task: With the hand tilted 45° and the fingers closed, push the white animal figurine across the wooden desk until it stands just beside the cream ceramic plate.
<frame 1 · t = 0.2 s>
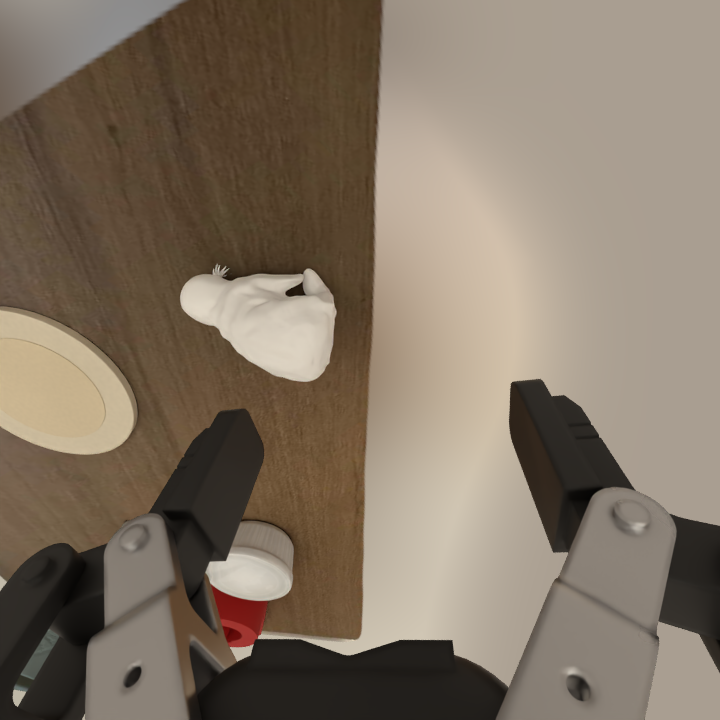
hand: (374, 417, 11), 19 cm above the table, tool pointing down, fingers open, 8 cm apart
drinking glass: (71, 592, 64), on the table
plate: (47, 387, 37), on the table
ramekin: (260, 537, 50), on the table
white animal figurine: (271, 294, 30), on the table
lever: (246, 595, 60), on the table
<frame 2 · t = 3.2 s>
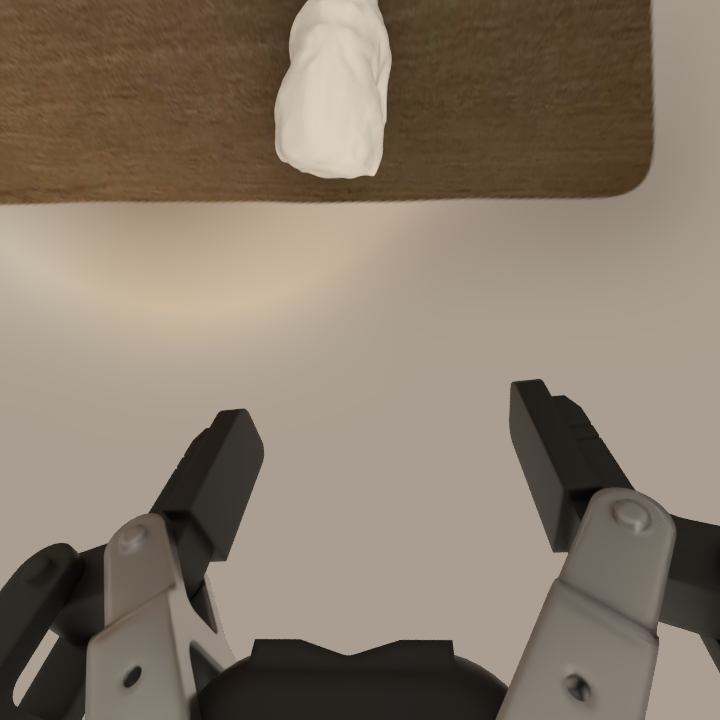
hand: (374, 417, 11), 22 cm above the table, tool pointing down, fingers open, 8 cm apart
white animal figurine: (346, 64, 24), on the table
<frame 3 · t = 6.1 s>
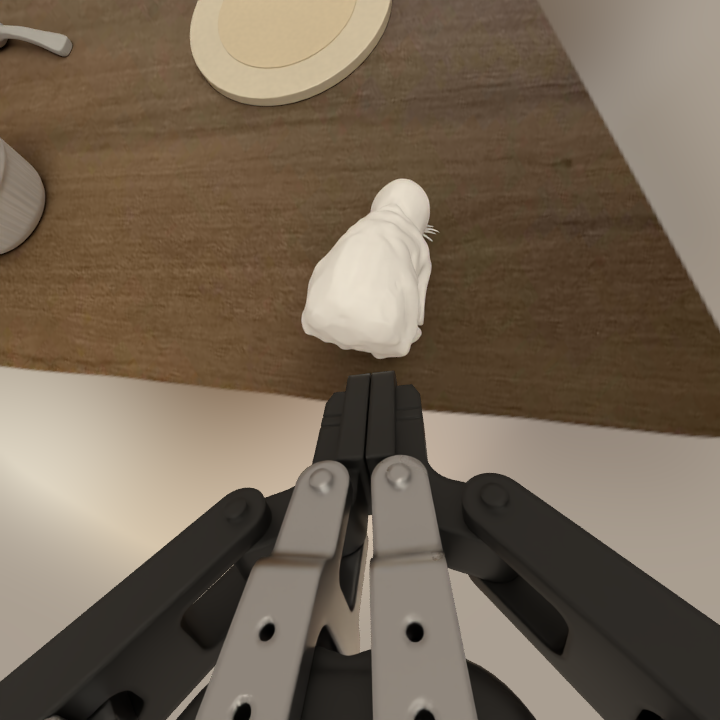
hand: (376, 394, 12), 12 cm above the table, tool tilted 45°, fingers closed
plate: (289, 16, 32), on the table
spoon: (29, 48, 38), on the table
ramekin: (8, 212, 34), on the table
white animal figurine: (389, 287, 26), on the table
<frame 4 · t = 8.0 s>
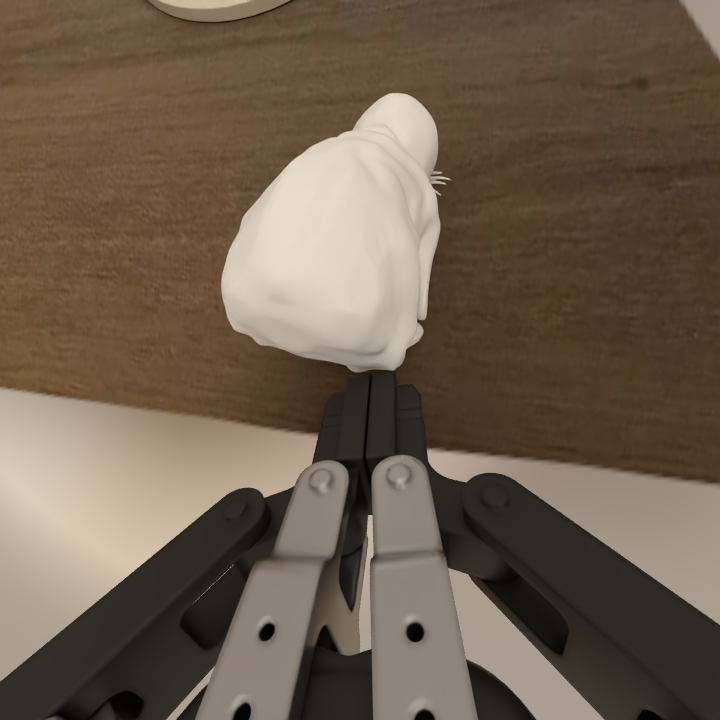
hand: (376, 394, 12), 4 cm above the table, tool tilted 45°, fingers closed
white animal figurine: (377, 265, 18), on the table, touching gripper
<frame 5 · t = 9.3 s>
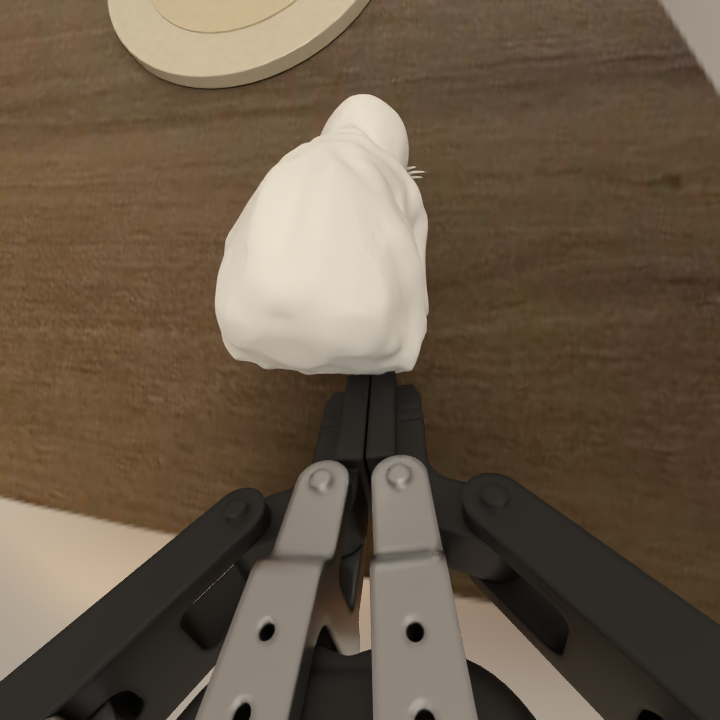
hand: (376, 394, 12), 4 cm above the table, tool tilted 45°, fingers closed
white animal figurine: (366, 270, 17), on the table, touching gripper
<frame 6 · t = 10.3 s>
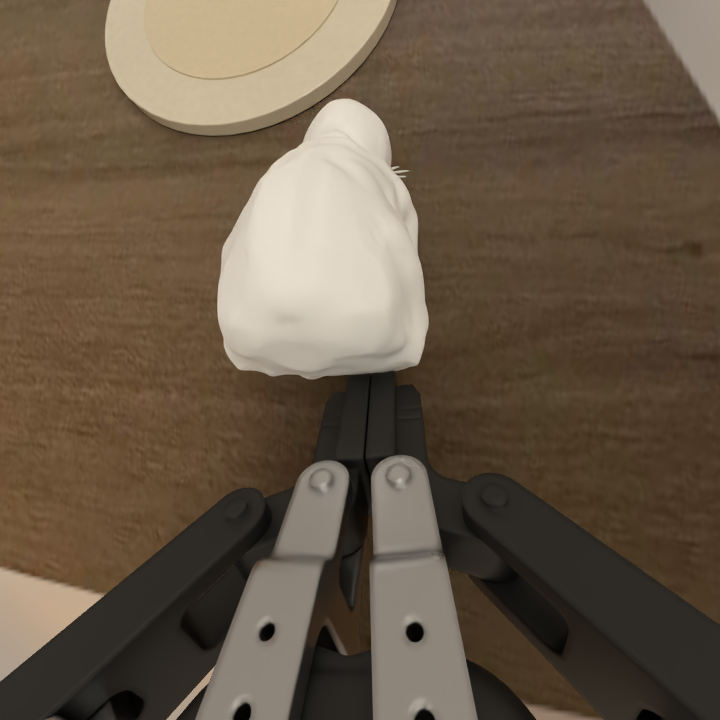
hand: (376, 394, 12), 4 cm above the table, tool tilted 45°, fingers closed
plate: (248, 2, 22), on the table
white animal figurine: (358, 272, 17), on the table, touching gripper
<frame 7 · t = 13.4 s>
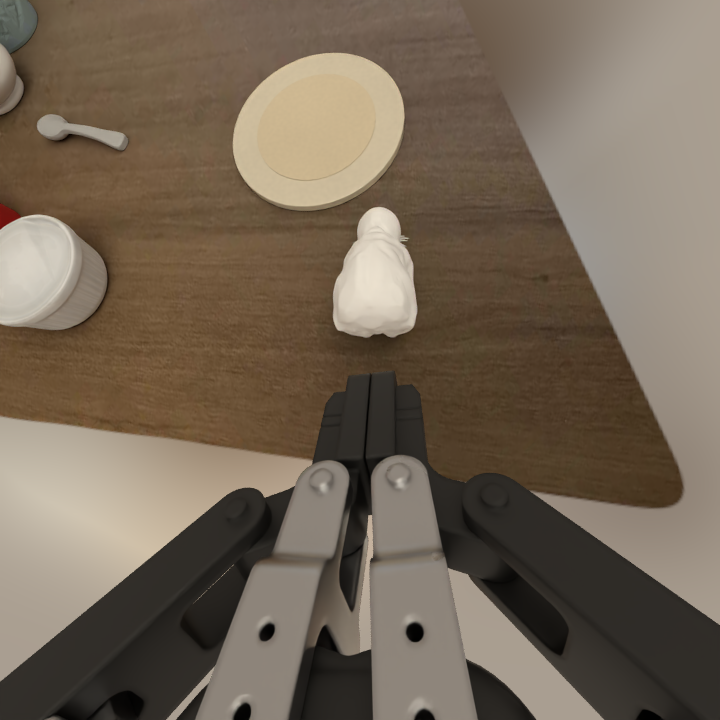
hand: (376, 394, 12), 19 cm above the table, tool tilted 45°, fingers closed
drinking glass: (11, 31, 50), on the table
plate: (317, 132, 38), on the table
spoon: (88, 139, 44), on the table
ramekin: (74, 289, 40), on the table
flower vase: (6, 102, 48), on the table
white animal figurine: (382, 287, 34), on the table
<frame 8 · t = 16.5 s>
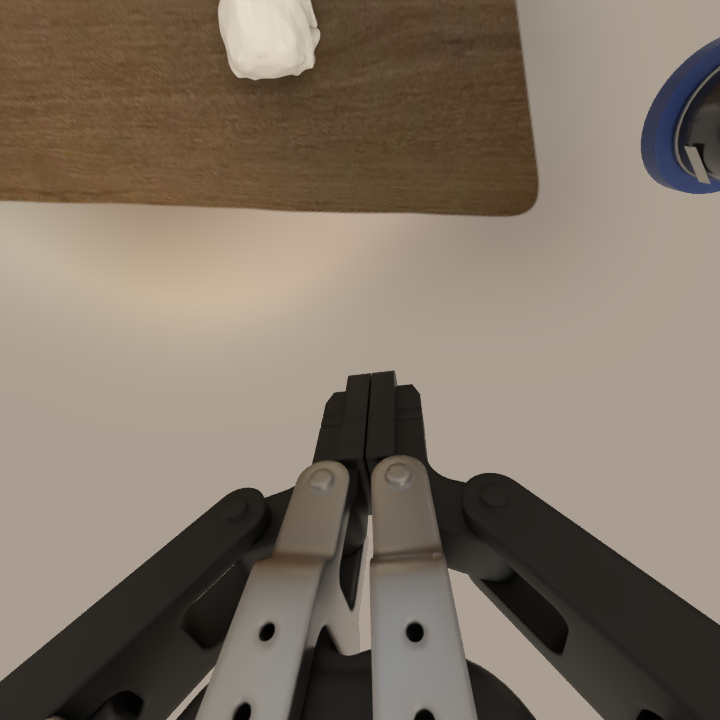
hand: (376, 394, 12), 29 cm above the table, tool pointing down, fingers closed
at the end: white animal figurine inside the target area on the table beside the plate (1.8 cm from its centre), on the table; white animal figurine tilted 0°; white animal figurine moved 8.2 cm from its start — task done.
